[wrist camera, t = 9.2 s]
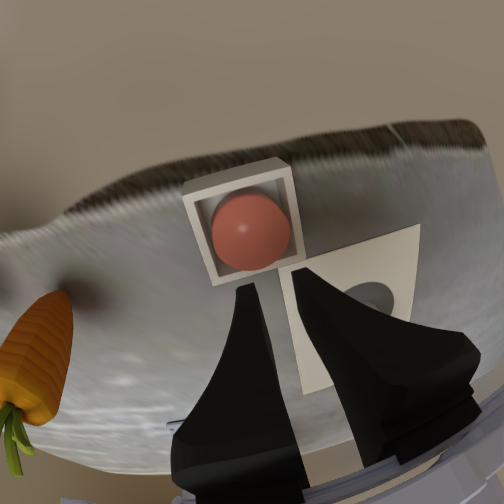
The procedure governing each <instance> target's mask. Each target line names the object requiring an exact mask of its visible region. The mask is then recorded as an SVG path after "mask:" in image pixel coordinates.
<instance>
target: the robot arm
mask: <svg viewBox="0 0 504 504" xmlns="http://www.w3.org/2000/svg"><path fill="white" fill-rule="evenodd" d="M291 276H292V281H293V287H294V292H295V298H296V303H297V309H298V313H299V315H300V318H301V321H302V323H303V326H304V328H305V331H306V333H307V335H308V337H309V338H310V340H311V342H312V344H313V346H314V348H315V349H316V351H317V353H318V355H319V357H320V359H321V360H322V362H323V364H324V366H325V368H326V370H327V371H328V373H329V375H330V377H331V379H332V381H333V383H334V386H335V388H336V391H337V393H338V396H339V398H340V401H341V403H342V406H343V409H344V411H345V414H346V416H347V419H348V422H349V425H350V427H351V430H352V433H353V436H354V439H355V441H356V444H357V447H358V450H359V453H360V456H361V460H362V463H363V466H364V469H362V470H359V471H357V472H355V473H352V474H349V475H347V476H344V477H341V478H338V479H335V480H333V481H330V482H327V483H324V484H321V485H318V486H314V487H310V484H309V481H308V478H307V474H306V471H305V468H304V465H303V461H302V458H301V455H300V451H299V448H298V445H297V442H296V439H295V435H294V432H293V429H292V426H291V423H290V419H289V416H288V413H287V410H286V407H285V403H284V400H283V397H282V394H281V390H280V385H279V380H278V375H277V370H276V365H275V360H274V355H273V350H272V345H271V341H270V337H269V333H268V330H267V326H266V323H265V319H264V315H263V312H262V308H261V304H260V301H259V297H258V294H257V291H256V288H255V285H254V283H250V284H247V285H243V286H240V287H238V288H237V289H236V301H235V309H234V314H233V319H232V323H231V328H230V331H229V335H228V338H227V341H226V345H225V347H224V350H223V353H222V356H221V358H220V361H219V363H218V365H217V368H216V370H215V372H214V374H213V376H212V378H211V380H210V382H209V384H208V386H207V387H206V389H205V391H204V392H203V394H202V396H201V397H200V399H199V400H198V402H197V404H196V405H195V407H194V408H193V410H192V411H191V413H190V414H189V415H188V417H187V418H186V419H185V421H181V422H175V423H169V424H166V428H167V429H168V430H169V431H170V432H171V433H172V434H173V440H172V447H171V476H172V481H173V482H174V483H175V484H176V485H177V486H179V487H181V488H182V497H183V499H181V497H180V496H179V497H178V496H176V497H175V499H173V500H172V504H333V503H336V502H338V501H341V500H344V499H347V498H350V497H352V496H355V495H357V494H360V493H363V492H365V491H367V490H370V489H372V488H374V487H377V486H379V485H381V484H384V483H386V482H388V481H390V480H392V479H394V478H396V477H398V476H400V475H402V474H404V473H406V472H408V471H410V470H412V469H414V468H416V467H418V466H419V465H421V464H423V463H425V462H426V461H428V460H430V459H431V458H433V457H435V456H437V455H438V454H440V453H442V452H443V451H445V450H446V449H448V448H449V449H448V450H446V451H445V452H444V453H442V454H441V455H440V457H439V459H438V460H437V461H436V462H435V463H434V464H433V465H432V466H431V467H430V468H429V469H428V470H426V471H425V472H423V473H421V474H419V475H417V476H415V477H413V478H411V479H409V480H407V481H405V482H403V483H401V484H399V485H397V486H395V487H393V488H391V489H388V490H386V491H384V492H382V493H380V494H377V495H375V496H373V497H370V498H368V499H366V500H364V501H361V502H358V503H356V504H504V488H503V485H502V484H501V482H500V480H499V478H498V476H497V474H496V472H497V471H498V470H500V469H501V468H502V467H503V466H504V385H503V386H501V387H500V388H499V389H498V390H496V391H495V392H494V393H493V394H492V395H490V396H489V397H488V398H486V399H485V400H484V401H482V402H481V403H480V404H477V403H476V401H475V400H474V398H473V397H472V396H471V395H472V394H473V393H474V390H473V388H472V387H471V386H470V384H469V383H470V381H471V379H472V377H473V375H474V373H475V371H476V370H477V368H478V365H479V363H480V358H481V353H480V352H479V350H478V349H477V348H476V347H475V345H474V344H473V343H472V342H471V341H470V339H469V338H468V337H467V336H466V335H465V334H464V333H463V332H455V331H448V330H442V329H435V328H431V327H427V326H422V325H418V324H414V323H411V322H407V321H404V320H401V319H398V318H395V317H393V316H390V315H387V314H385V313H382V312H380V311H378V310H375V309H373V308H371V307H369V306H367V305H365V304H363V303H361V302H359V301H357V300H355V299H354V298H352V297H350V296H349V295H347V294H345V293H344V292H342V291H340V290H339V289H337V288H336V287H334V286H333V285H331V284H330V283H328V282H327V281H325V280H324V279H322V278H321V277H320V276H318V275H317V274H316V273H314V272H313V271H311V270H310V269H309V268H307V267H304V268H301V269H297V270H294V271H291ZM451 446H452V447H451ZM61 504H94V503H92V502H88V501H83V500H77V499H69V498H64V497H62V498H61Z"/></svg>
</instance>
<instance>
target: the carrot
mask: <svg viewBox="0 0 504 504" xmlns="http://www.w3.org/2000/svg"><path fill="white" fill-rule="evenodd" d="M72 338H73V313H72V308H71V303H70V298H69V294H68V293H67V292H66V291H64V290H58V291H54V292H51V293H48V294H46V295H45V296H43V297H41V298H39V299H38V300H37V301H36V302H35V303H34V304H33V305H32V306H31V307H29V308H28V310H27V311H26V312H25V313H24V314H23V315H22V316H21V317H20V318H19V319H18V321H17V322H16V324H15V325H14V327H13V328H12V330H11V331H10V333H9V334H8V336H7V338H6V339H5V341H4V342H3V344H2V346H1V347H0V435H1V432H2V429H3V426H4V424H5V431H4V443H5V450H6V457H7V462H8V466H9V470H10V474H12V475H14V476H16V477H21V476H23V472H22V469H21V464H20V459H19V455H18V450H17V445H18V446H19V448H21V450H22V451H23V452H24V453H25V454H27V455H33V454H35V450H34V448H33V446H32V445H31V444H30V442H29V439H28V436H27V434H26V431H25V429H24V426H23V424H22V422H23V423H26V424H30V425H33V426H41V425H44V424H45V423H47V422H48V421H50V420H51V419H53V418H54V417H55V415H56V414H57V412H58V409H59V405H60V401H61V396H62V392H63V388H64V384H65V380H66V375H67V371H68V366H69V362H70V355H71V347H72ZM16 442H17V445H16Z"/></svg>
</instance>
